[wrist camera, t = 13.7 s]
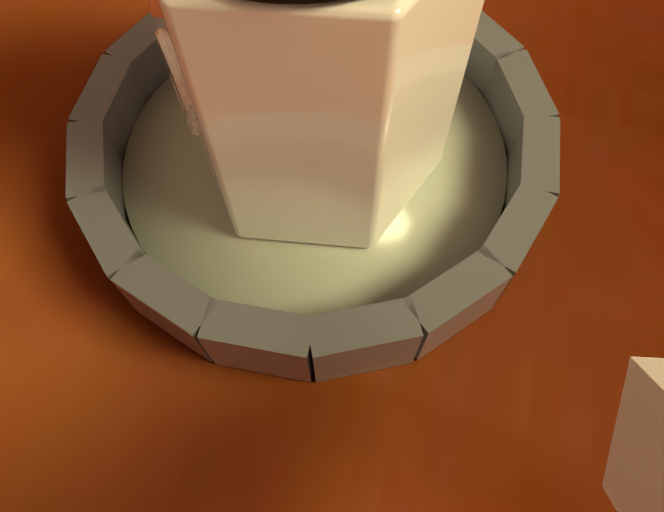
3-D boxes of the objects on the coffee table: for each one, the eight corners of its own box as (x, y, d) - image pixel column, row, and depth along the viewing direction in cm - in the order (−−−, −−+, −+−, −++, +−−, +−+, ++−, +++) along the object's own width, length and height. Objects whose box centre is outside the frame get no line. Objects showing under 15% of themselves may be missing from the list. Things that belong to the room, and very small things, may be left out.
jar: (174, 103, 22) (14, -326, 11) (364, 40, 23) (387, -392, 12) (255, 297, 18) (132, -68, 7) (476, 208, 19) (648, -206, 9)
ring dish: (1, 218, 20) (-42, 176, 18) (269, -31, 26) (263, -86, 24) (391, 486, 16) (400, 477, 14) (601, 115, 22) (632, 65, 20)
